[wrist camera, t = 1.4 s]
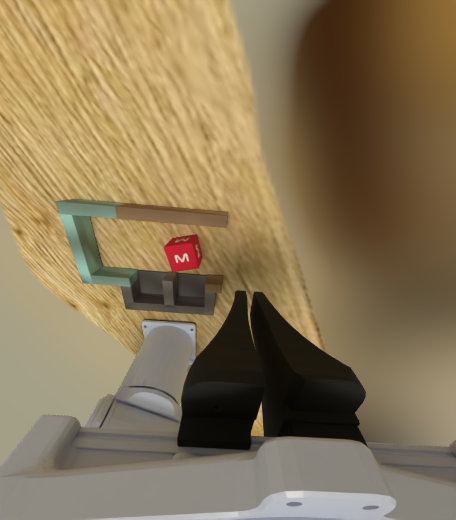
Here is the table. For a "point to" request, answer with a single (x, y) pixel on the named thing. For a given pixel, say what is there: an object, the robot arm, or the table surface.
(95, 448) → the robot arm
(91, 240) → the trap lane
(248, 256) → the table surface
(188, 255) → the red letter block
